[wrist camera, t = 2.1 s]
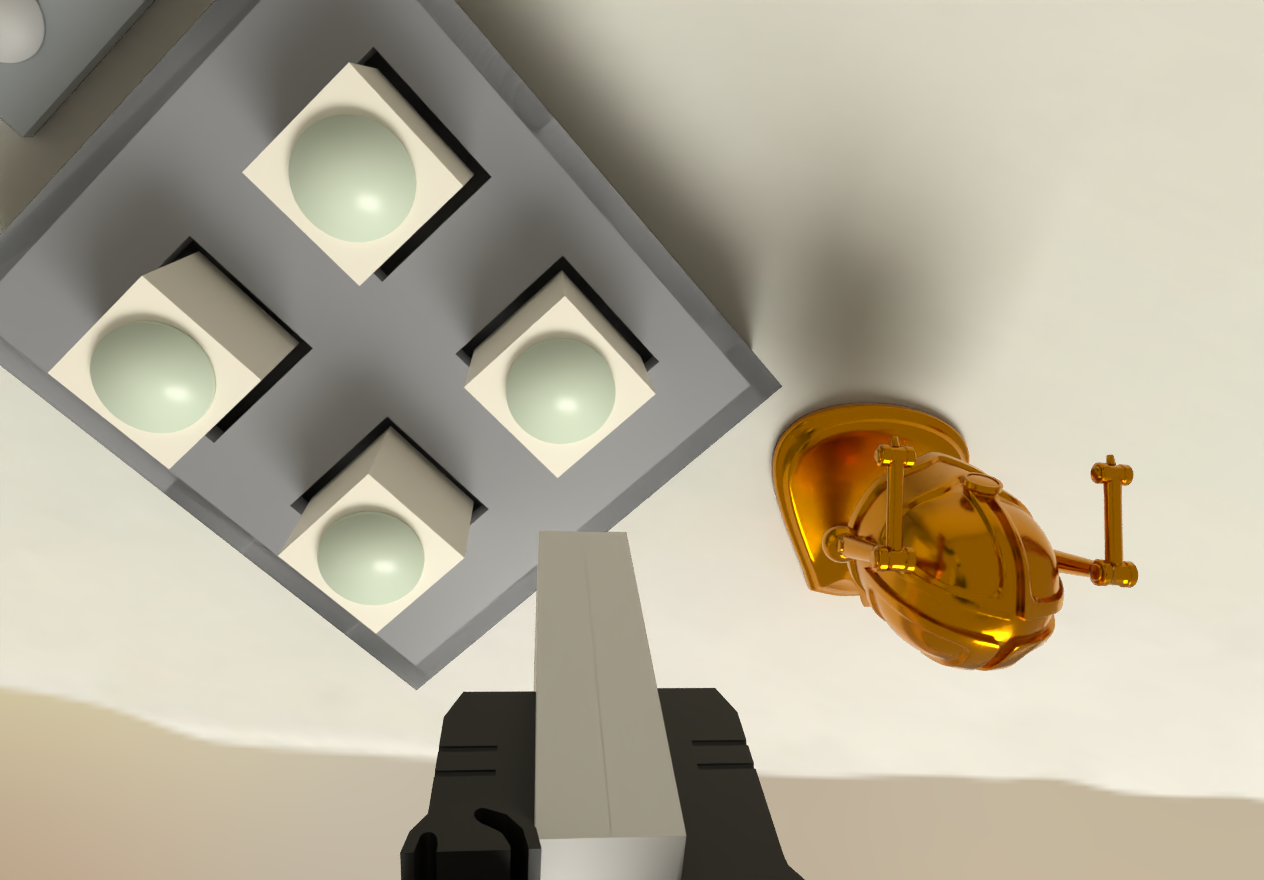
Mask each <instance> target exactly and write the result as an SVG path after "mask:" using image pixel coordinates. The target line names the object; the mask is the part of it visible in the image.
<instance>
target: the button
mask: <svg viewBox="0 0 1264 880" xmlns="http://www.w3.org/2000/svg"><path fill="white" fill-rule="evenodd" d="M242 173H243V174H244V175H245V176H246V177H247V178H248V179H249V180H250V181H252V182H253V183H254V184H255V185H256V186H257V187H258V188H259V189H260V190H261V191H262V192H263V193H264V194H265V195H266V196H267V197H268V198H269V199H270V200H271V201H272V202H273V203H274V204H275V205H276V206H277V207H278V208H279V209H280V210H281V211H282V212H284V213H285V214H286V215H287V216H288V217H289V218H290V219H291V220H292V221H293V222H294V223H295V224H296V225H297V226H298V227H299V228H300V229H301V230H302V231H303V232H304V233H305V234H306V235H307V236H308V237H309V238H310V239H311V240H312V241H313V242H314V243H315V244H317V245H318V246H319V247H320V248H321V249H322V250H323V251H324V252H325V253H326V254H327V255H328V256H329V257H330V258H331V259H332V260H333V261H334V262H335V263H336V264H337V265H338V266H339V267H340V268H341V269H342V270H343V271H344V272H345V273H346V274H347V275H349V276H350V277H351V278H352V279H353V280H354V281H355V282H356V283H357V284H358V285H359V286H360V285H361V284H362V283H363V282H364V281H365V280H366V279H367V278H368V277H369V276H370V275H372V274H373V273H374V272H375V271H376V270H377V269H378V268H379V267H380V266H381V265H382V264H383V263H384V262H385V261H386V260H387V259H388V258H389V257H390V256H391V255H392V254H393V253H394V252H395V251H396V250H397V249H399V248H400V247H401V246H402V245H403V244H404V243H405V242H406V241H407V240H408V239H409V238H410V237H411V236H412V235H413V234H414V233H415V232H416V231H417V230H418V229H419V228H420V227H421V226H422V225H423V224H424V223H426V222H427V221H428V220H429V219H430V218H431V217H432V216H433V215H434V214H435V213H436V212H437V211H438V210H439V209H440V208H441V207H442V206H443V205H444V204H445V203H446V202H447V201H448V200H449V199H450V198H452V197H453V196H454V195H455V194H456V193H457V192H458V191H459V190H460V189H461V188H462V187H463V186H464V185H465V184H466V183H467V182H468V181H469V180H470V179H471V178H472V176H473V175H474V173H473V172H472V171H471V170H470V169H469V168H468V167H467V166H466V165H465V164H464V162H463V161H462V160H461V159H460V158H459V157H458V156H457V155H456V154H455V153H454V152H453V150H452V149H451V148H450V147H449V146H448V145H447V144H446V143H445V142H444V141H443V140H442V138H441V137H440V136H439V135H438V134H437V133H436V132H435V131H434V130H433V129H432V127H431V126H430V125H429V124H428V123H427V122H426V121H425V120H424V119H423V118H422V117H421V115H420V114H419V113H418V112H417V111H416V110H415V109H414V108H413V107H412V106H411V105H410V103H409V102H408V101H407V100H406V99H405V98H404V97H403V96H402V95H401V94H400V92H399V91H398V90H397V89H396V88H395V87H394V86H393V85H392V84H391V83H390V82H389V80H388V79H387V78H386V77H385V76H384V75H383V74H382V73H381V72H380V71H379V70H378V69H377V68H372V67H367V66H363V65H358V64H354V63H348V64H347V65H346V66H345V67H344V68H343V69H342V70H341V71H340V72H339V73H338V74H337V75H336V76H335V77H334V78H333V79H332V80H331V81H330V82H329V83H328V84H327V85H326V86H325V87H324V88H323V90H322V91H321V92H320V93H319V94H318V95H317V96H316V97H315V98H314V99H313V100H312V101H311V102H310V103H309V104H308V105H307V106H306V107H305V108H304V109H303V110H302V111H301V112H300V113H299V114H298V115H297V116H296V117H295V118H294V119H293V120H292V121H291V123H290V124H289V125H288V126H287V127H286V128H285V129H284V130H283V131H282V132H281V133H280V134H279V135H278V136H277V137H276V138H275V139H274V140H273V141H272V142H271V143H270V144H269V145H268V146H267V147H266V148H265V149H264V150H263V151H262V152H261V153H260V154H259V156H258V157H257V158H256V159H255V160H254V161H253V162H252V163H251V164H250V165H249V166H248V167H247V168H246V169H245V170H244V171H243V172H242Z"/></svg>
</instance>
